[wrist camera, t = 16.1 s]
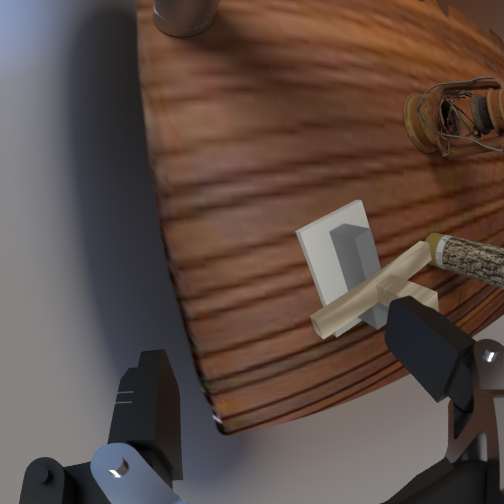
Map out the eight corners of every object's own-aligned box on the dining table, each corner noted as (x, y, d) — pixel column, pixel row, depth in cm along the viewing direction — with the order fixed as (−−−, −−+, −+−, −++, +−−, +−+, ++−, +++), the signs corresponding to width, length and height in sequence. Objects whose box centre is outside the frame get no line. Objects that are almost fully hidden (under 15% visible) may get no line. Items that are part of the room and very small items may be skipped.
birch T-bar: (309, 315, 36) (358, 356, 26) (420, 240, 40) (474, 254, 30) (316, 332, 37) (363, 374, 27) (422, 257, 41) (475, 273, 31)
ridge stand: (295, 231, 42) (322, 239, 35) (355, 199, 44) (388, 202, 37) (332, 333, 48) (357, 354, 41) (382, 299, 50) (410, 314, 43)
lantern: (439, 170, 49) (562, 176, 21) (400, 150, 45) (548, 144, 17) (440, 100, 47) (551, 86, 19) (402, 75, 43) (526, 41, 15)
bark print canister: (435, 265, 54) (529, 296, 30) (417, 262, 52) (520, 296, 28) (441, 234, 53) (537, 258, 29) (424, 229, 51) (530, 253, 27)
